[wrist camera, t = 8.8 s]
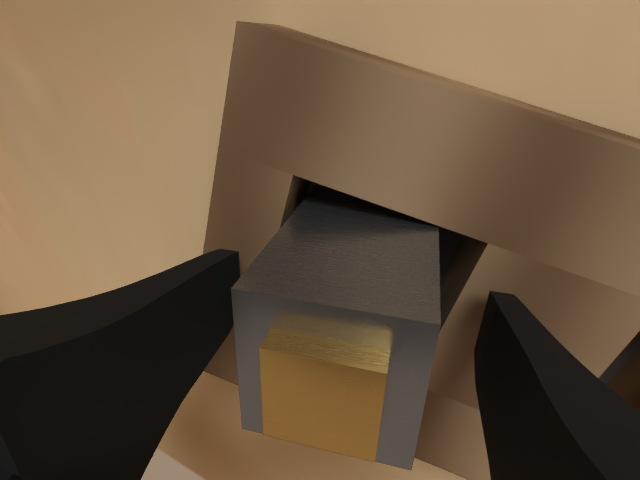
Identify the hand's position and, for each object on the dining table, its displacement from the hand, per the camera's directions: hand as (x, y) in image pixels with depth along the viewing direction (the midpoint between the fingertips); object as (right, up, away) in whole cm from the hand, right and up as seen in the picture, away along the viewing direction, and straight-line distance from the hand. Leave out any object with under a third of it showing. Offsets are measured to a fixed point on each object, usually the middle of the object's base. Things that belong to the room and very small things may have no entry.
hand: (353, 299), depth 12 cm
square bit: (+1, +2, +3) cm, 3 cm away
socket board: (+4, 0, +3) cm, 5 cm away
